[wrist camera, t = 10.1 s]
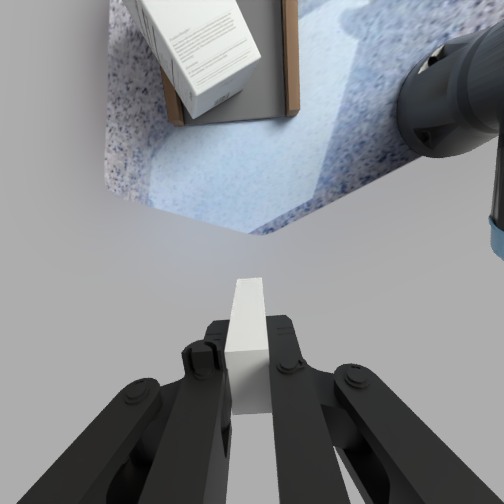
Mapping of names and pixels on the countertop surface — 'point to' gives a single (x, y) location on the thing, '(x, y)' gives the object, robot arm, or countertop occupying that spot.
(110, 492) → the robot arm
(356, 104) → the countertop surface
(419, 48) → the countertop surface
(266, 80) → the mat
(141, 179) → the countertop surface
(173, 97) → the rails
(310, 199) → the countertop surface
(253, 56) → the supplement box
